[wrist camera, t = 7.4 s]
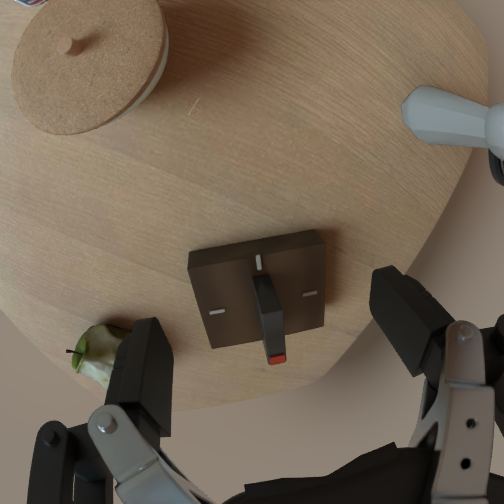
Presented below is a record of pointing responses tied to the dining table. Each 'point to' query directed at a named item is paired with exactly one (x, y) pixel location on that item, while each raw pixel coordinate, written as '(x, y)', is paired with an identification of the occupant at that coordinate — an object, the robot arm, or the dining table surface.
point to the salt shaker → (454, 120)
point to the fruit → (97, 352)
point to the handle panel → (241, 288)
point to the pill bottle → (30, 2)
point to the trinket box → (88, 62)
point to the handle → (270, 319)
